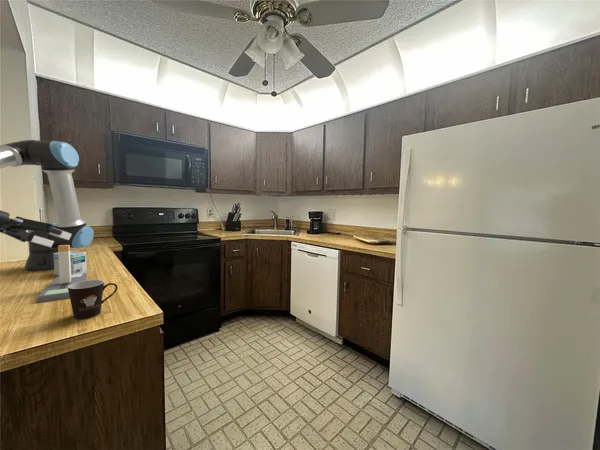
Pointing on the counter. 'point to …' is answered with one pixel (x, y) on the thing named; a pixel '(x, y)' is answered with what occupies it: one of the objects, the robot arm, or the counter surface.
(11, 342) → the counter surface
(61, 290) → the plate
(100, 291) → the coffee mug
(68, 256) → the breaker lever
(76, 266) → the light bulb box
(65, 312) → the counter surface
